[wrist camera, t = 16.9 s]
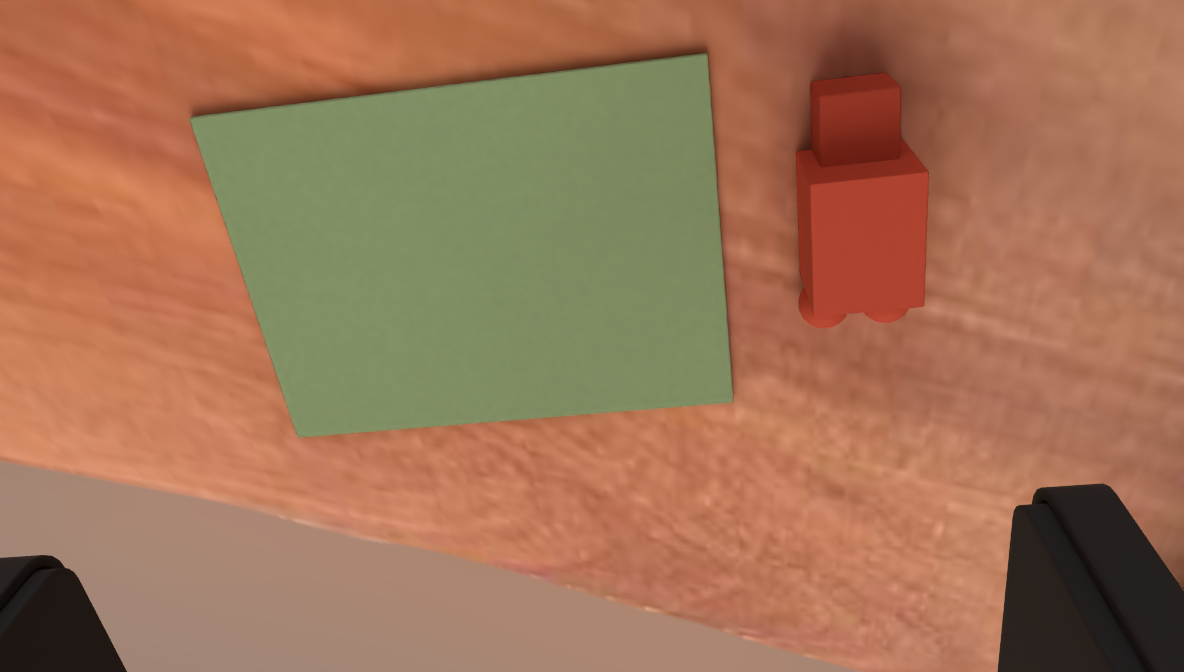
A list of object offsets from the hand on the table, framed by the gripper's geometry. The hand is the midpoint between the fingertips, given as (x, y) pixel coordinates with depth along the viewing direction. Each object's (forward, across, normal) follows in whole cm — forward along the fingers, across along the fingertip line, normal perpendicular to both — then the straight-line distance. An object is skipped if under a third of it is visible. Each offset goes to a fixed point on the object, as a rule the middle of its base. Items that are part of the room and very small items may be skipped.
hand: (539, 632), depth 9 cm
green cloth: (+28, +7, +8) cm, 30 cm away
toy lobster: (+28, -8, +7) cm, 30 cm away
